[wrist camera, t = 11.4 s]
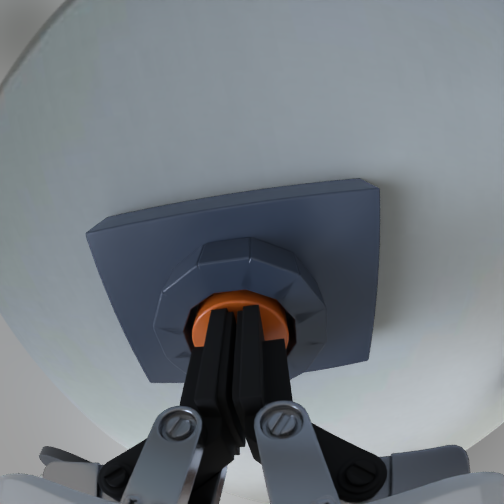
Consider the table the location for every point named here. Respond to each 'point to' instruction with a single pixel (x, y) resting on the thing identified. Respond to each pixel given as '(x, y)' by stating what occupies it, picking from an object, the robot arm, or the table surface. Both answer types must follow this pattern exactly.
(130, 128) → the table surface
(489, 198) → the table surface
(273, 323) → the button
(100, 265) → the button box
